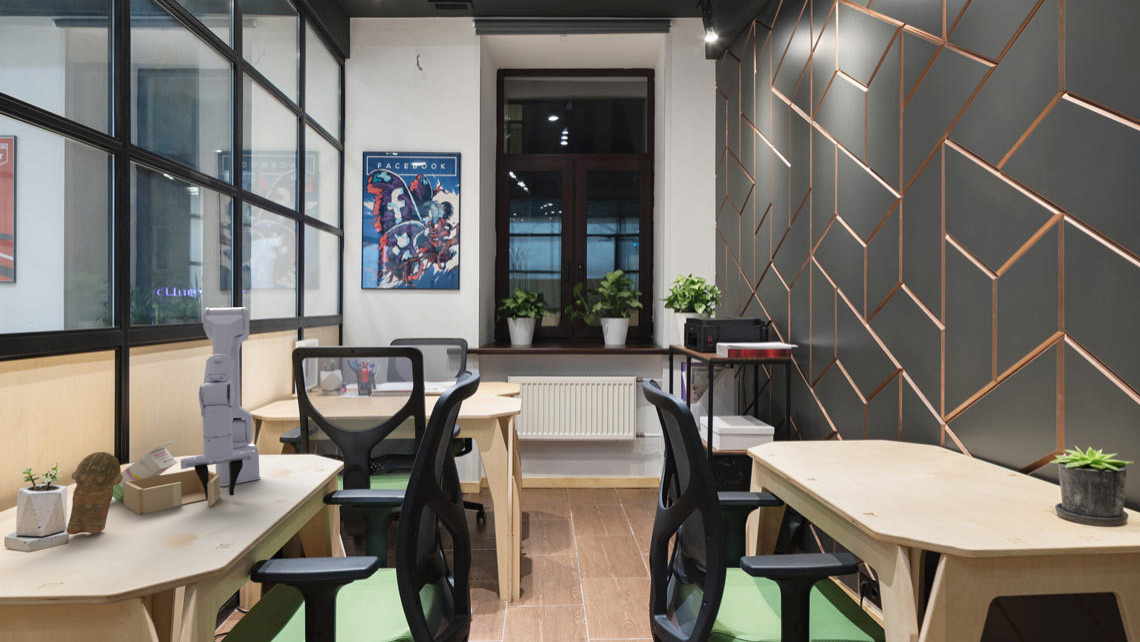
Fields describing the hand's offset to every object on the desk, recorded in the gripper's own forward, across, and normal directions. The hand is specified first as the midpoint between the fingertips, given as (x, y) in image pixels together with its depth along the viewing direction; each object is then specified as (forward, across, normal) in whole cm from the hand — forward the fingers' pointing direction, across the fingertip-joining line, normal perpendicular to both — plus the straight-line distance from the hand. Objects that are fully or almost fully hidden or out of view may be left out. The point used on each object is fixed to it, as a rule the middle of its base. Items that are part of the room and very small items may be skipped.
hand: (219, 496), depth 145 cm
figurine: (+2, -22, -8) cm, 23 cm away
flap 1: (+1, -11, +1) cm, 11 cm away
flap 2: (+1, -1, +1) cm, 2 cm away
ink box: (0, -19, +20) cm, 28 cm away
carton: (+2, -9, +8) cm, 12 cm away
